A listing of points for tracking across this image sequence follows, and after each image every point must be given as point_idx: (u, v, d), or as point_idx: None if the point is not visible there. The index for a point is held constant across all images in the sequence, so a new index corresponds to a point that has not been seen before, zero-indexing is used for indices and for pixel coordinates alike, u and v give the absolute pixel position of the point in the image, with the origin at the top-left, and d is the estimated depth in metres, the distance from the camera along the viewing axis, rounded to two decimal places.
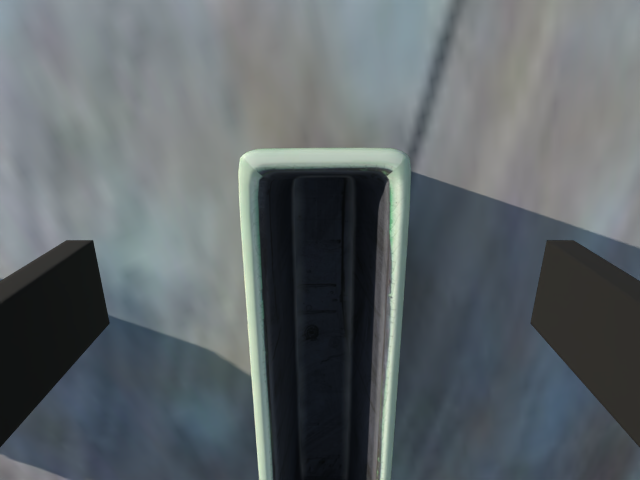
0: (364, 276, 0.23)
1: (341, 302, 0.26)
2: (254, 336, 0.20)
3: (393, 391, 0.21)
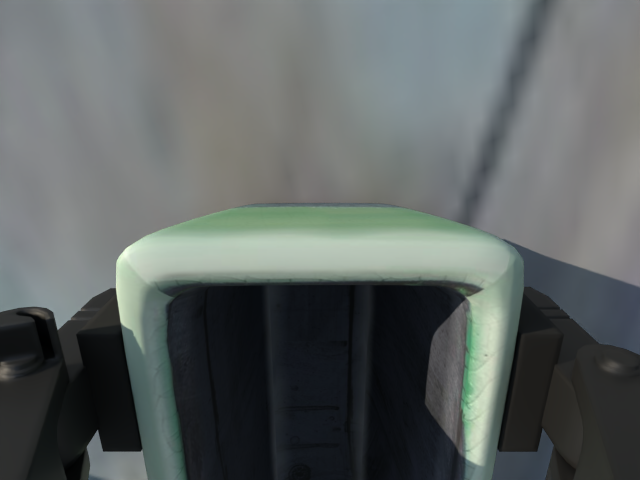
0: (390, 422, 0.13)
1: (347, 432, 0.16)
2: None
3: None
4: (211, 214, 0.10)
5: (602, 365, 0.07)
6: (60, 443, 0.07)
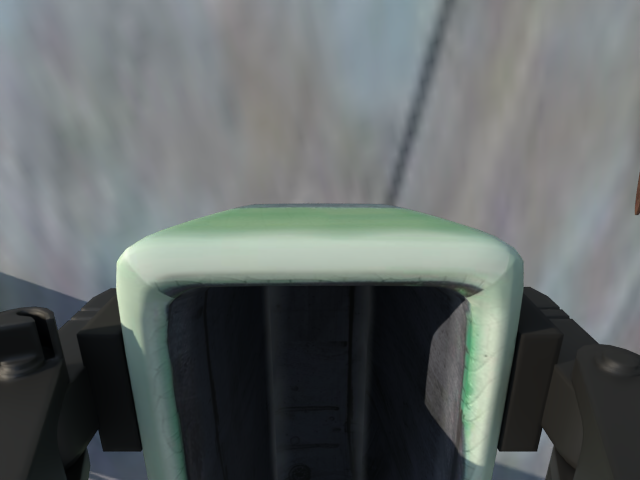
0: (390, 422, 0.13)
1: (347, 433, 0.16)
2: None
3: None
4: (211, 215, 0.10)
5: (601, 365, 0.07)
6: (60, 443, 0.07)
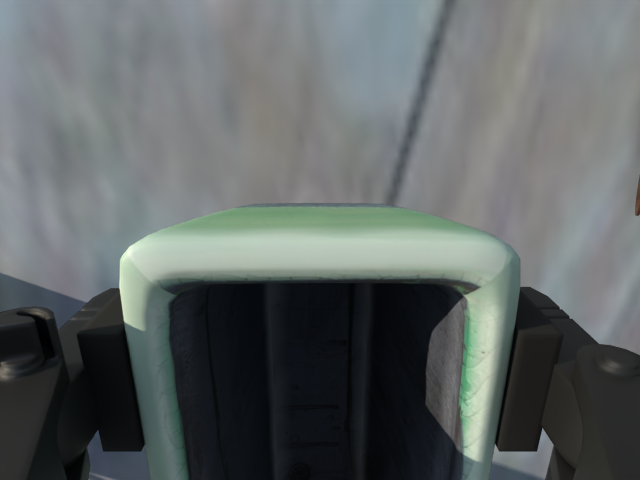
0: (389, 420, 0.13)
1: (346, 431, 0.17)
2: None
3: None
4: (212, 214, 0.10)
5: (601, 365, 0.07)
6: (60, 443, 0.07)
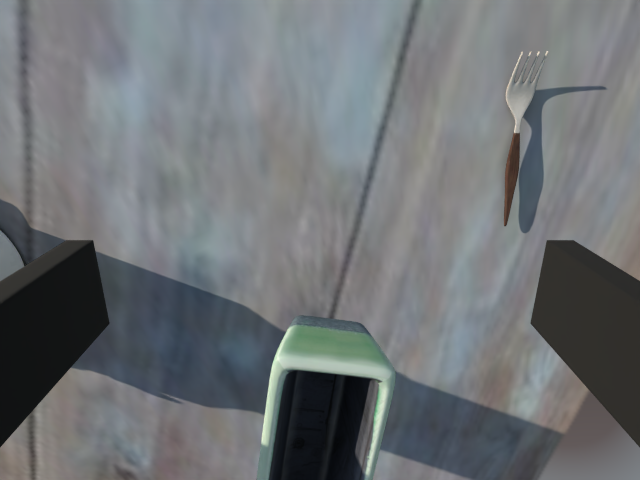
0: (348, 420, 0.29)
1: (326, 424, 0.33)
2: (262, 473, 0.26)
3: None
4: (293, 333, 0.26)
5: None
6: None
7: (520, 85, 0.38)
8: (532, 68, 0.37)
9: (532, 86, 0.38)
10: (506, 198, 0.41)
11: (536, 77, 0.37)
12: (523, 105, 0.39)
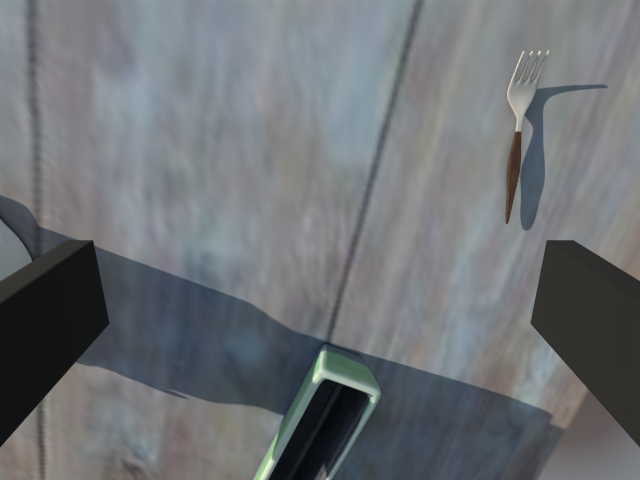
0: (339, 413, 0.48)
1: (320, 413, 0.51)
2: (289, 432, 0.44)
3: (334, 472, 0.46)
4: (326, 356, 0.44)
5: None
6: None
7: (521, 84, 0.38)
8: (533, 67, 0.37)
9: (533, 85, 0.38)
10: (508, 196, 0.42)
11: (537, 76, 0.38)
12: (524, 104, 0.39)
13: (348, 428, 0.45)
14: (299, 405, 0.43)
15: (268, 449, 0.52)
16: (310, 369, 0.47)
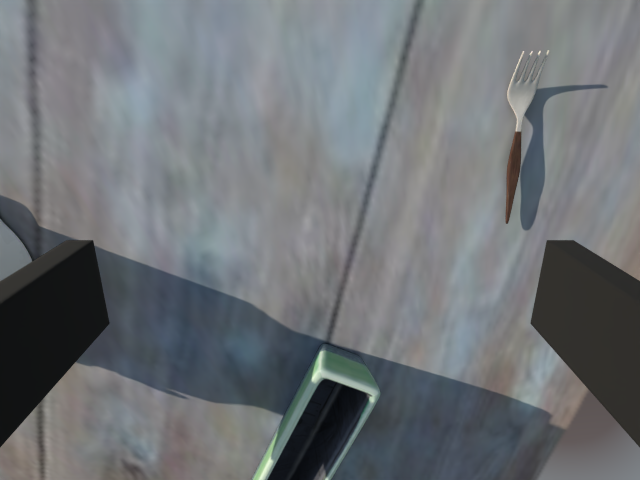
0: (339, 413, 0.48)
1: (319, 413, 0.51)
2: (288, 432, 0.44)
3: (333, 472, 0.46)
4: (325, 356, 0.44)
5: None
6: None
7: (521, 84, 0.38)
8: (533, 67, 0.37)
9: (533, 85, 0.38)
10: (508, 196, 0.42)
11: (537, 76, 0.38)
12: (524, 104, 0.39)
13: (347, 428, 0.45)
14: (298, 405, 0.43)
15: (267, 449, 0.52)
16: (309, 369, 0.47)
